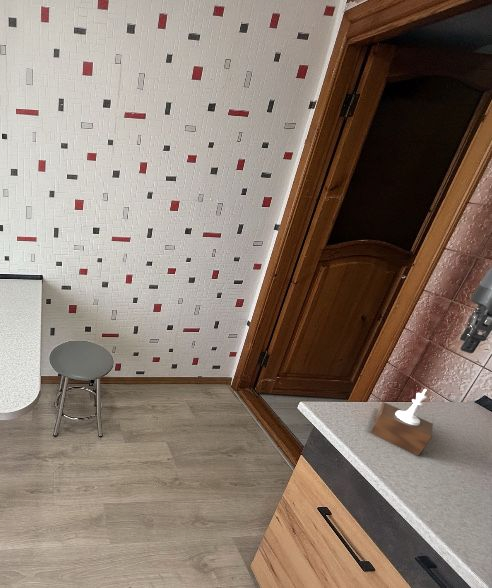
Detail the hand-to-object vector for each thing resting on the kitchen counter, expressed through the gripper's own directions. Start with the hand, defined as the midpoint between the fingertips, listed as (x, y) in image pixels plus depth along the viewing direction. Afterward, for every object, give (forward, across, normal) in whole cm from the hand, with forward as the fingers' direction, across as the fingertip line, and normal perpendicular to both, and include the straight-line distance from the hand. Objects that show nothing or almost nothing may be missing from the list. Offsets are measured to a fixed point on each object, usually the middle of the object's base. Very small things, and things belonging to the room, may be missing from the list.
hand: (465, 346), depth 85 cm
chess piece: (+21, -10, +3) cm, 24 cm away
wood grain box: (+28, -6, +3) cm, 29 cm away
